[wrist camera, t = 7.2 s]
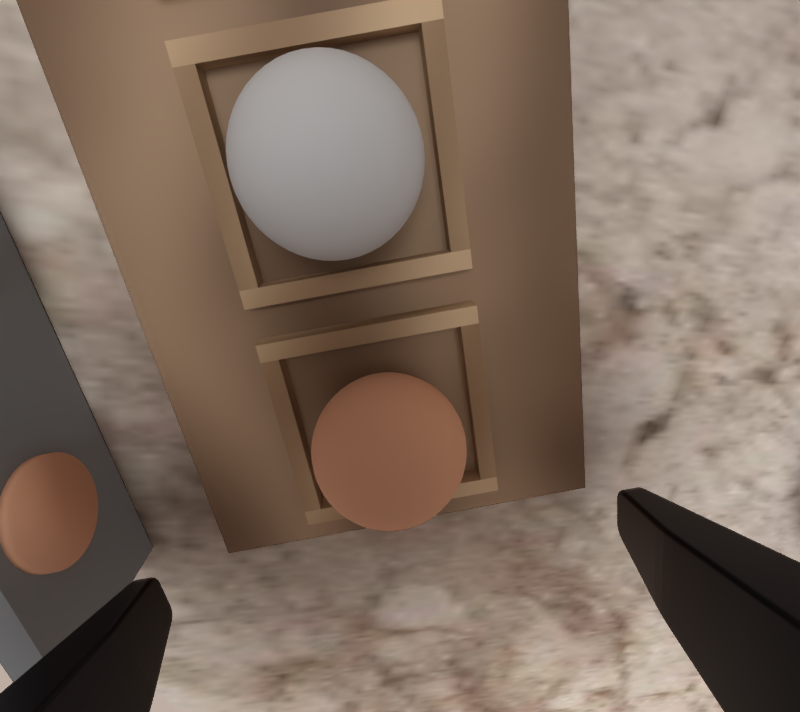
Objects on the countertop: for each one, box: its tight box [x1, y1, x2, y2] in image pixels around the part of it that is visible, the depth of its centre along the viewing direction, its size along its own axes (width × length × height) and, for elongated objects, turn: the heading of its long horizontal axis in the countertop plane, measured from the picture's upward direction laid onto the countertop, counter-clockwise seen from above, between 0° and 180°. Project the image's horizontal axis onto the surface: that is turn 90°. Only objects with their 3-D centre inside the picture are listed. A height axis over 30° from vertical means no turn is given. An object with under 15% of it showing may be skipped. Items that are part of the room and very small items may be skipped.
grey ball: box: [226, 47, 425, 261], centre depth 10 cm, size 4×4×4 cm
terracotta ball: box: [311, 372, 467, 531], centre depth 12 cm, size 4×4×4 cm
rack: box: [16, 0, 585, 553], centre depth 12 cm, size 12×22×2 cm, turn 10°
